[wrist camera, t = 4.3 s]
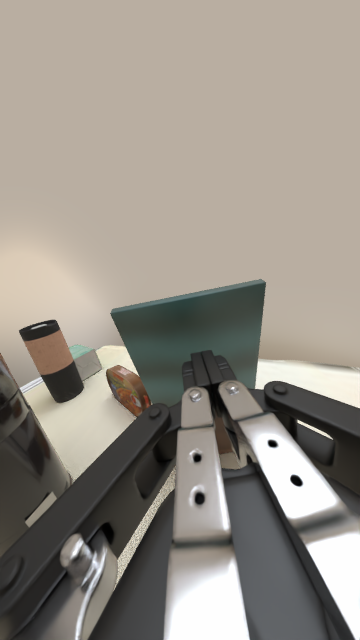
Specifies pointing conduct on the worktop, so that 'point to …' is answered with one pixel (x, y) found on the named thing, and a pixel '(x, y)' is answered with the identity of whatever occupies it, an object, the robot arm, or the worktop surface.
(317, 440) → the robot arm
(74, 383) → the travel mug
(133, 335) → the lid
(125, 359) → the worktop surface
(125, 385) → the tin
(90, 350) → the box
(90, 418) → the worktop surface
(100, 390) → the worktop surface
